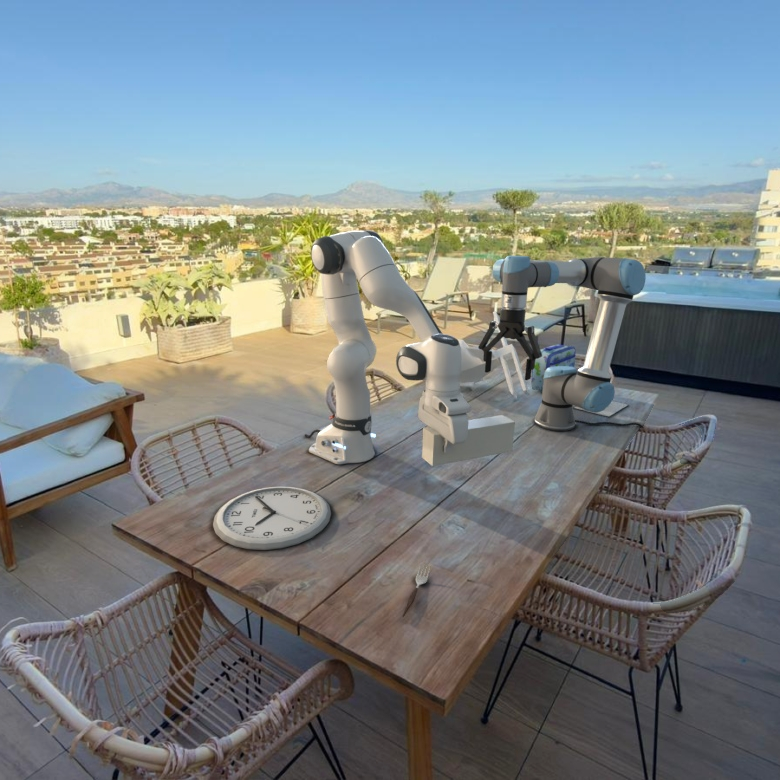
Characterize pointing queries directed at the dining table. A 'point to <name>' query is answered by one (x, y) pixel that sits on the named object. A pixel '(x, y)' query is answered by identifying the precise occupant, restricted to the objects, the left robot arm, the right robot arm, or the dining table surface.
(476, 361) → the white plastic object
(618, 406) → the invitation card
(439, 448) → the bar
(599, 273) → the right robot arm
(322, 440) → the left robot arm
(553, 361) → the lunch box
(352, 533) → the dining table surface
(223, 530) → the wall clock
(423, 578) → the fork
